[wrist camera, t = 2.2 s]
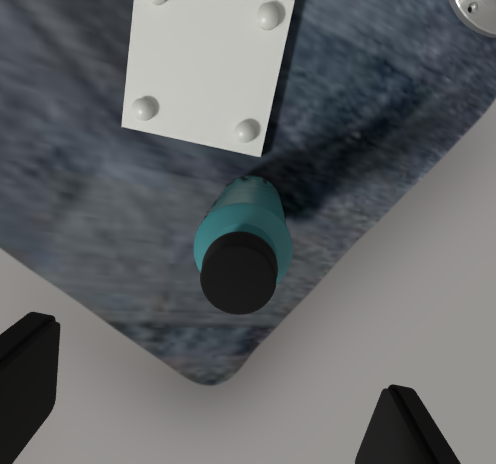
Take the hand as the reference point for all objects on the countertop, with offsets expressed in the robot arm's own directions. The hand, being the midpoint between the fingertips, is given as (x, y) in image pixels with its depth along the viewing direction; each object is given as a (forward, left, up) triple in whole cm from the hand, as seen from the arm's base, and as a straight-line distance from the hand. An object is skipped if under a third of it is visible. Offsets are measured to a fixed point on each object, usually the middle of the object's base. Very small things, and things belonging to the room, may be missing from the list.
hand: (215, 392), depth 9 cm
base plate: (+7, -12, -27) cm, 31 cm away
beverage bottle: (0, 0, -27) cm, 27 cm away
